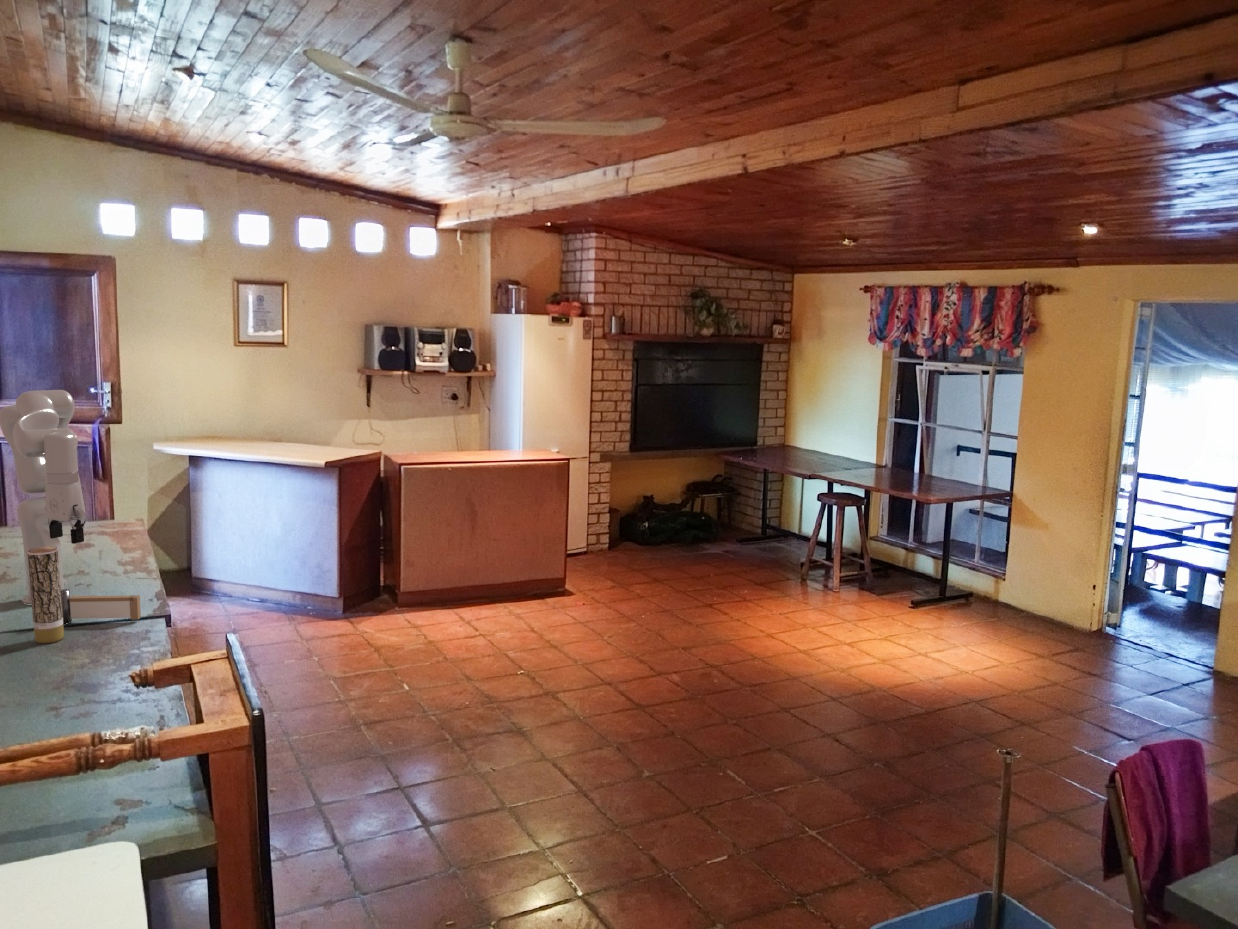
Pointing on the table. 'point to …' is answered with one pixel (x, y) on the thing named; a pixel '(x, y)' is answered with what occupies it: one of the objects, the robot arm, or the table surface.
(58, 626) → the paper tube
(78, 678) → the table surface
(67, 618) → the hinge post
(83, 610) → the gate
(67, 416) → the robot arm
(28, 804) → the table surface
